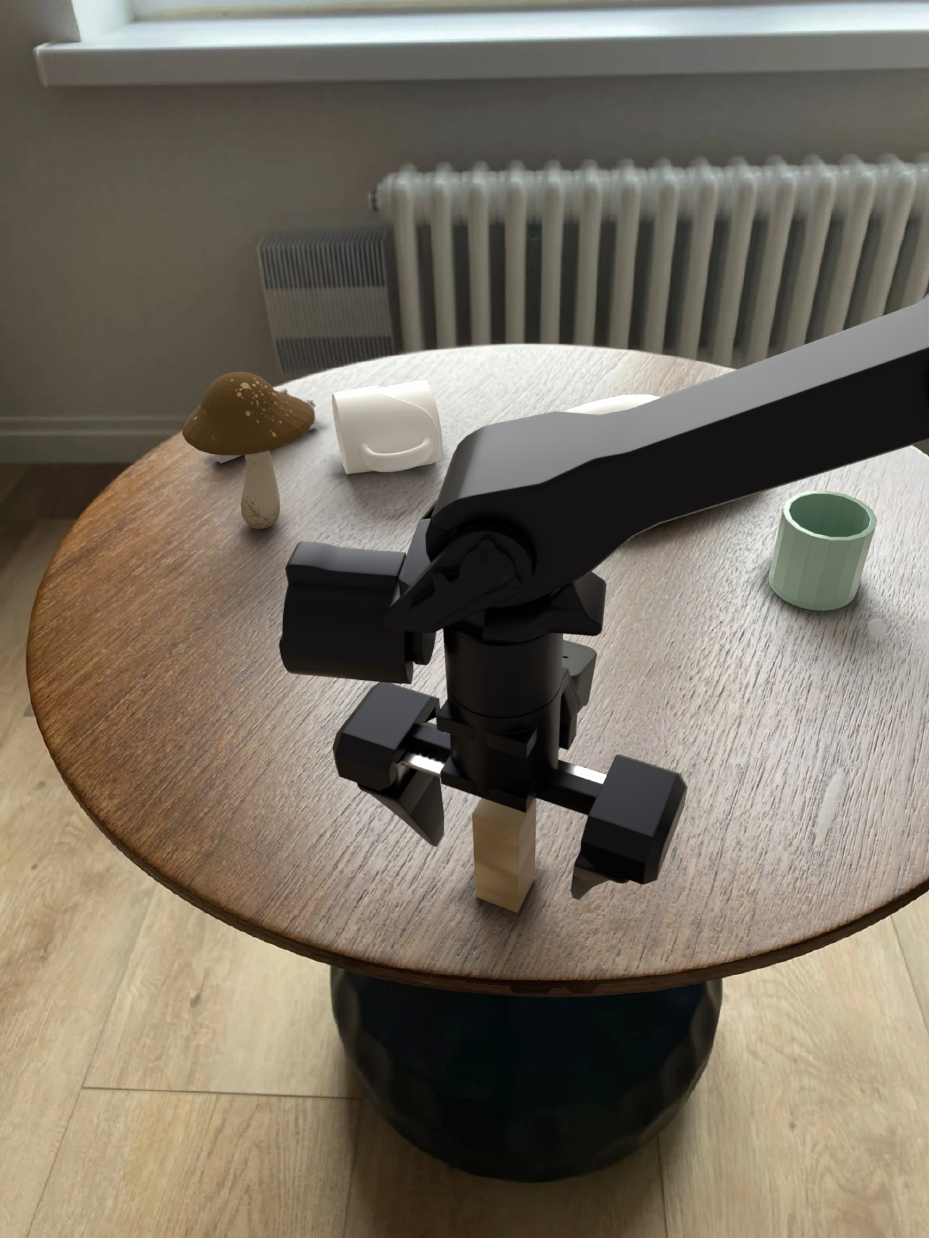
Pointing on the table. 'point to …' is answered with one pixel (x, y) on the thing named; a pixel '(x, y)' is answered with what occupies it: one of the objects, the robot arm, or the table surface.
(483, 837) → the stick
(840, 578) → the cup
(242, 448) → the mushroom
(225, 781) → the table surface
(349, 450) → the mug
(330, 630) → the robot arm
